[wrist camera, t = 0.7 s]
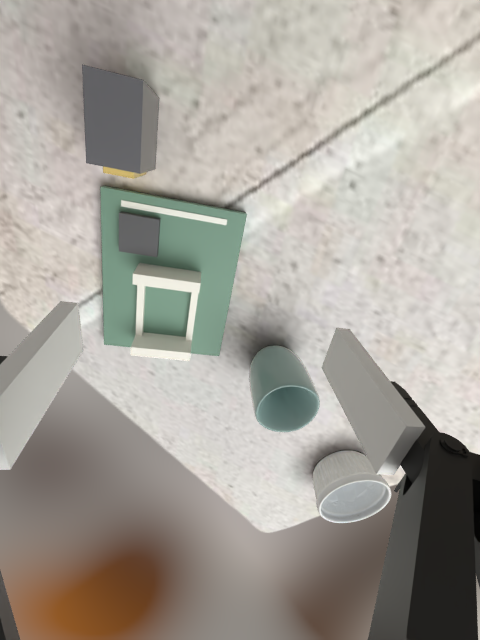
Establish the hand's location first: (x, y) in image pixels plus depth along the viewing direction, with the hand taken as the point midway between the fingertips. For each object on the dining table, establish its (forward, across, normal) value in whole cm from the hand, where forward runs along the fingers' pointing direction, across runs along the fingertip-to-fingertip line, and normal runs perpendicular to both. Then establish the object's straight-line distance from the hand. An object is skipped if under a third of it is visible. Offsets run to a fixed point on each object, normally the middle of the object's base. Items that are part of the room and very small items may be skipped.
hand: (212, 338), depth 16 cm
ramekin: (+22, +30, -42) cm, 56 cm away
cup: (+22, +11, -17) cm, 30 cm away
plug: (+22, -8, +9) cm, 25 cm away
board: (+22, -4, -6) cm, 23 cm away
